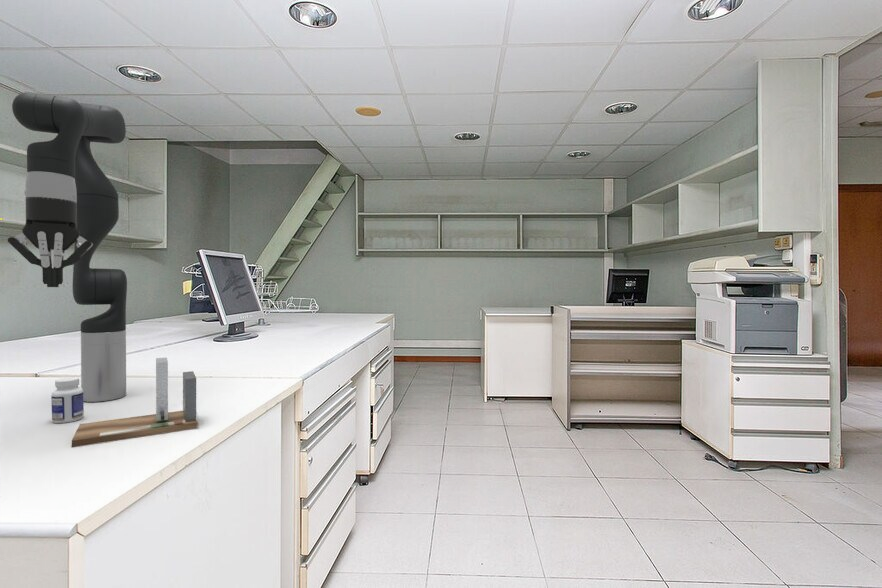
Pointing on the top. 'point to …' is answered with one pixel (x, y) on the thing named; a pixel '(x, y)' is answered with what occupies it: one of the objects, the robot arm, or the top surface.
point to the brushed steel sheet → (161, 389)
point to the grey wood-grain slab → (189, 396)
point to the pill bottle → (67, 401)
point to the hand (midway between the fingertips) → (52, 287)
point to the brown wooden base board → (129, 428)
